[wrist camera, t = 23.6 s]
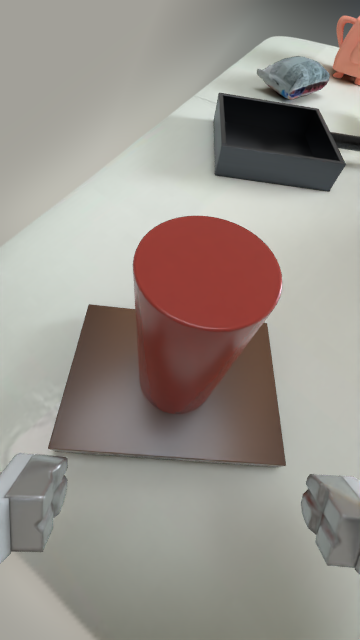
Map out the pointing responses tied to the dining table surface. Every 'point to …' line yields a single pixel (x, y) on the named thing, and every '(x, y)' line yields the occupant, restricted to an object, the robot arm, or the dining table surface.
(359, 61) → the teapot
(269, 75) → the packaged food
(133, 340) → the walnut board
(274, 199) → the dining table surface
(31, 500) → the robot arm
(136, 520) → the dining table surface
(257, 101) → the steel pan
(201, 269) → the red cylinder
